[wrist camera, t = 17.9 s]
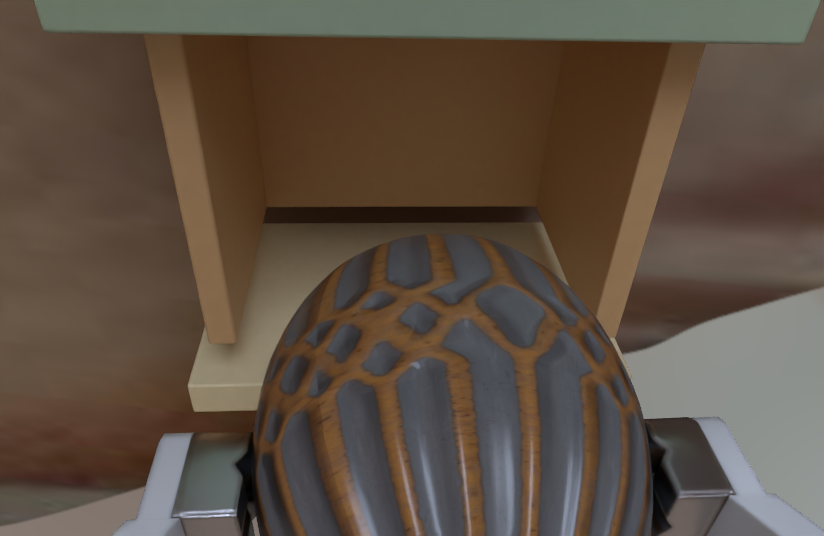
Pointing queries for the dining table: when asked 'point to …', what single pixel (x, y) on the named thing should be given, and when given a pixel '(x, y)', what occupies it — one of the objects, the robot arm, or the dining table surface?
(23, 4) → the dining table surface
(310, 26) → the cabinet
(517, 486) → the vase
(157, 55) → the drawer
